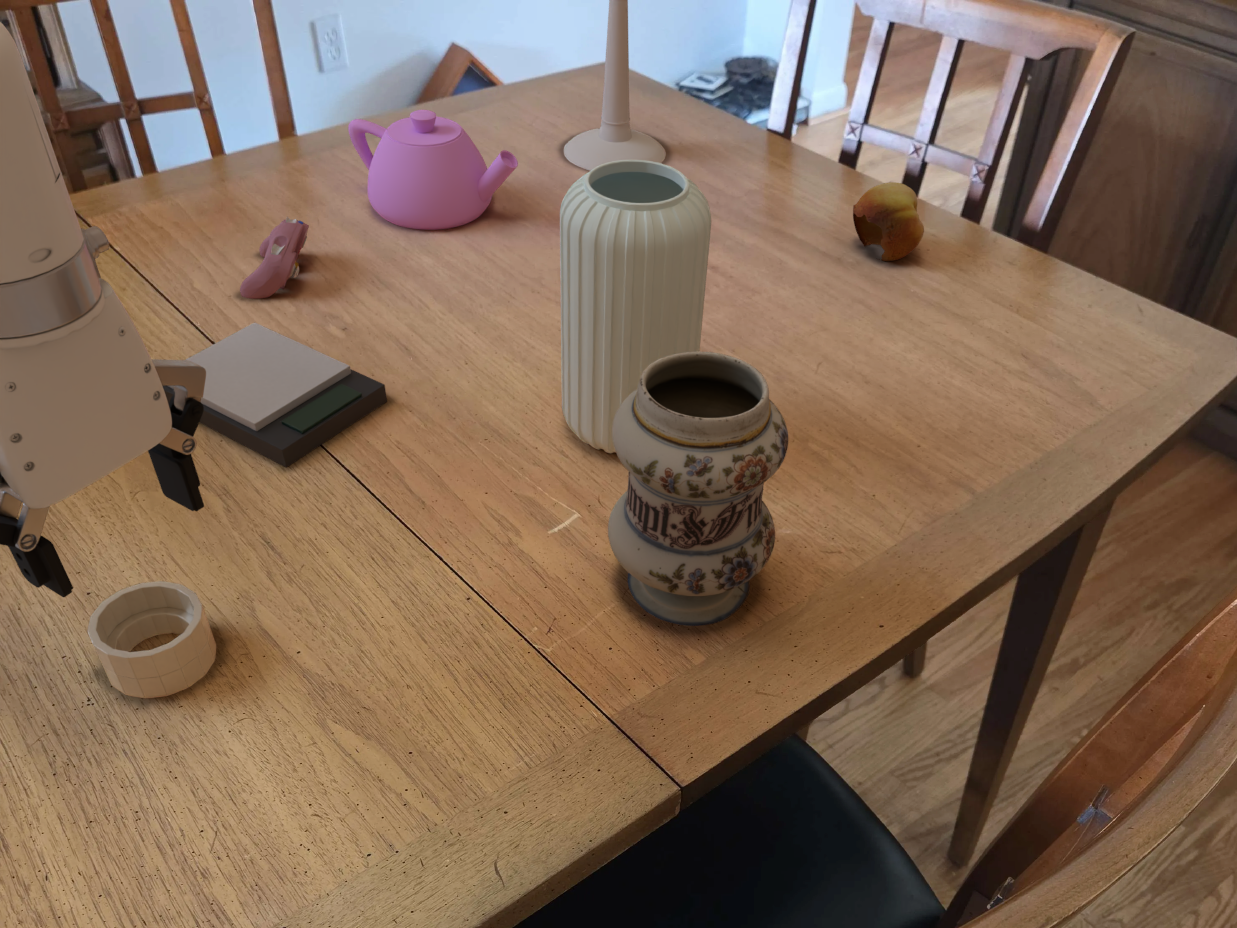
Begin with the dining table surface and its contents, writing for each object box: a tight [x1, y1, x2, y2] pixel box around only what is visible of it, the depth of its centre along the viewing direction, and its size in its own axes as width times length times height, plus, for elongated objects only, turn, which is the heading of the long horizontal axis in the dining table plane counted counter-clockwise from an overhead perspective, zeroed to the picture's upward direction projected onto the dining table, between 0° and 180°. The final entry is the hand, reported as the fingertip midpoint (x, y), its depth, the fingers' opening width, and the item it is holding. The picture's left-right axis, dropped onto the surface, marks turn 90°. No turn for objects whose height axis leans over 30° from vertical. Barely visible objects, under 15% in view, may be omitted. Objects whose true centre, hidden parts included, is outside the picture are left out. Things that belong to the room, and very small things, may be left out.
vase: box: [559, 160, 712, 454], centre depth 89 cm, size 12×12×22 cm
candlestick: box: [563, 0, 667, 171], centre depth 126 cm, size 13×13×30 cm
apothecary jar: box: [607, 351, 789, 627], centre depth 77 cm, size 12×12×18 cm
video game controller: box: [239, 216, 310, 300], centre depth 111 cm, size 10×5×7 cm, turn 0°
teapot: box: [347, 109, 519, 231], centre depth 121 cm, size 14×20×11 cm
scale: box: [162, 322, 388, 468], centre depth 96 cm, size 16×12×3 cm
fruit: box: [852, 181, 925, 262], centre depth 119 cm, size 8×8×8 cm
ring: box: [87, 580, 217, 699], centre depth 74 cm, size 7×7×5 cm
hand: (121, 542), depth 68 cm, fingers open, 9 cm apart
